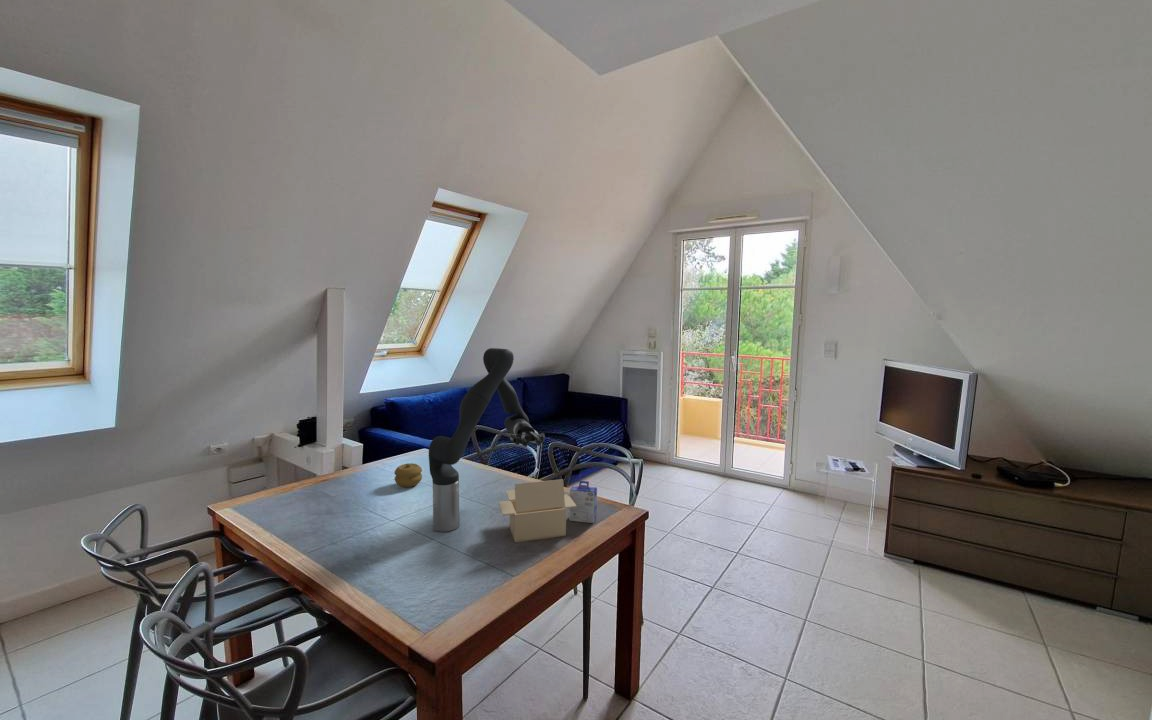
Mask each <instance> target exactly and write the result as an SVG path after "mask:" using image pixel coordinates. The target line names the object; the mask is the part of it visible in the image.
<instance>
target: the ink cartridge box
mask: <svg viewBox="0 0 1152 720" xmlns="http://www.w3.org/2000/svg"><path fill="white" fill-rule="evenodd" d="M589 483H590V482H589V481H585V480H579V484H578V485H572V486H571V488H570V490H569V496H570V498H571V499H572V500H573V502H574V503H575V504H576V506H577V507H571V508H569V517H568V520H569V521H570V522H579V523H580V522H581V523H590V524H595V522H596V520H597V519H598V517H597V516H598V515H597V514H598V512H597V509H598V505H597V504H598V494H597V493H598V488H597V487H595V486H590V484H589ZM585 484H586V485H585Z"/></svg>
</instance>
